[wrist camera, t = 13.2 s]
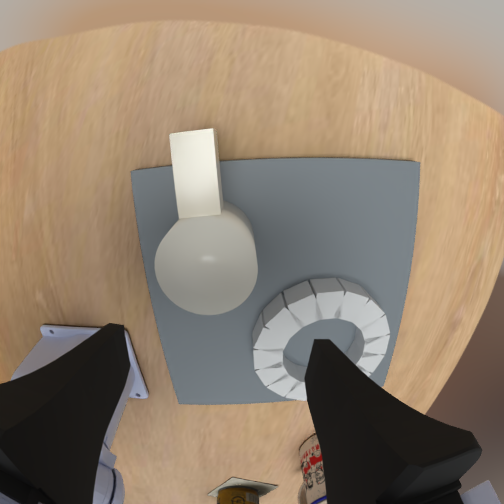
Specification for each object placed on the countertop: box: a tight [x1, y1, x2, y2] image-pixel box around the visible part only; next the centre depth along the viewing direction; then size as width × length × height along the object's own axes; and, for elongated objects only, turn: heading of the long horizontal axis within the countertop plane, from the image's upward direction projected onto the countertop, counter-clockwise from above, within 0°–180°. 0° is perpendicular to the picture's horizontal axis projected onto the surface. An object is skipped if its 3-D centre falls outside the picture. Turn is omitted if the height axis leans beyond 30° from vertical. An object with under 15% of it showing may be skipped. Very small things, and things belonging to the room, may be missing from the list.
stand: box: [131, 157, 420, 405], centre depth 20 cm, size 19×20×3 cm
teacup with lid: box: [298, 435, 327, 504], centre depth 24 cm, size 12×9×12 cm
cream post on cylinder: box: [155, 128, 258, 315], centre depth 16 cm, size 9×5×5 cm, turn 4°
